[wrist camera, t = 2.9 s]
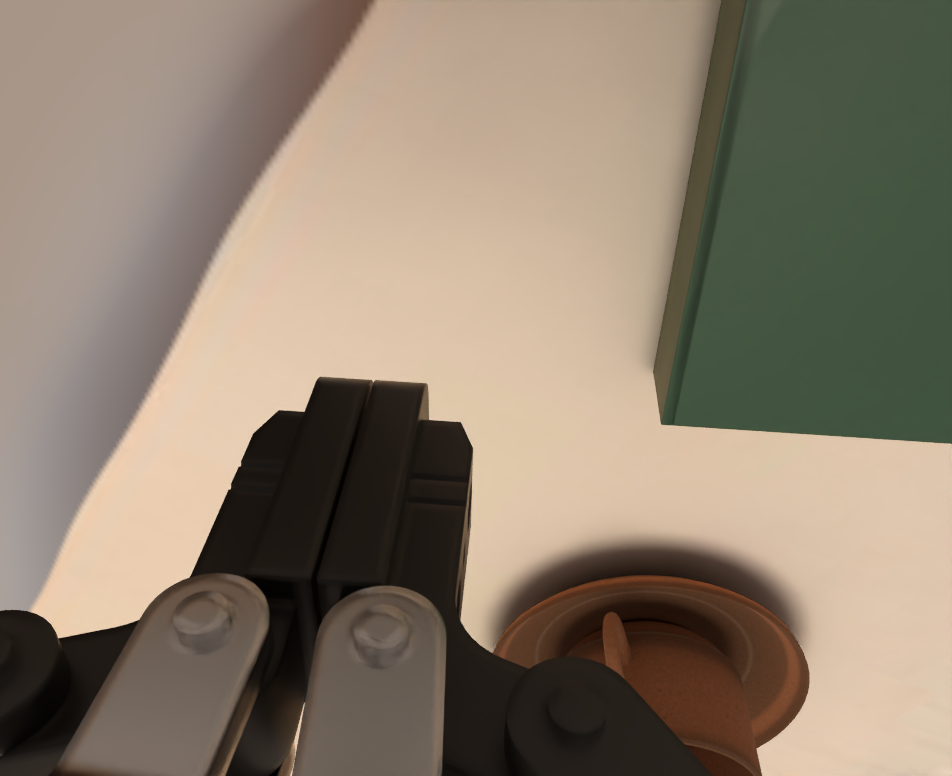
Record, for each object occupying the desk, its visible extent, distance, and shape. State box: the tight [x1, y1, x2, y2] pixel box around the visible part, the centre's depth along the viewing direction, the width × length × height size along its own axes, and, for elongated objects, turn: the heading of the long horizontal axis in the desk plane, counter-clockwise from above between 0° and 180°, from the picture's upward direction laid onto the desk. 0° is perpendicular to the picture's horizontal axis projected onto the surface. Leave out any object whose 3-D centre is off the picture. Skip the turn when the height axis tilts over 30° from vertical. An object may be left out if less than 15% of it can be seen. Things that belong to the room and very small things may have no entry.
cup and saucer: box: [493, 575, 809, 776], centre depth 32 cm, size 12×12×6 cm
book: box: [653, 0, 952, 444], centre depth 20 cm, size 15×11×2 cm
